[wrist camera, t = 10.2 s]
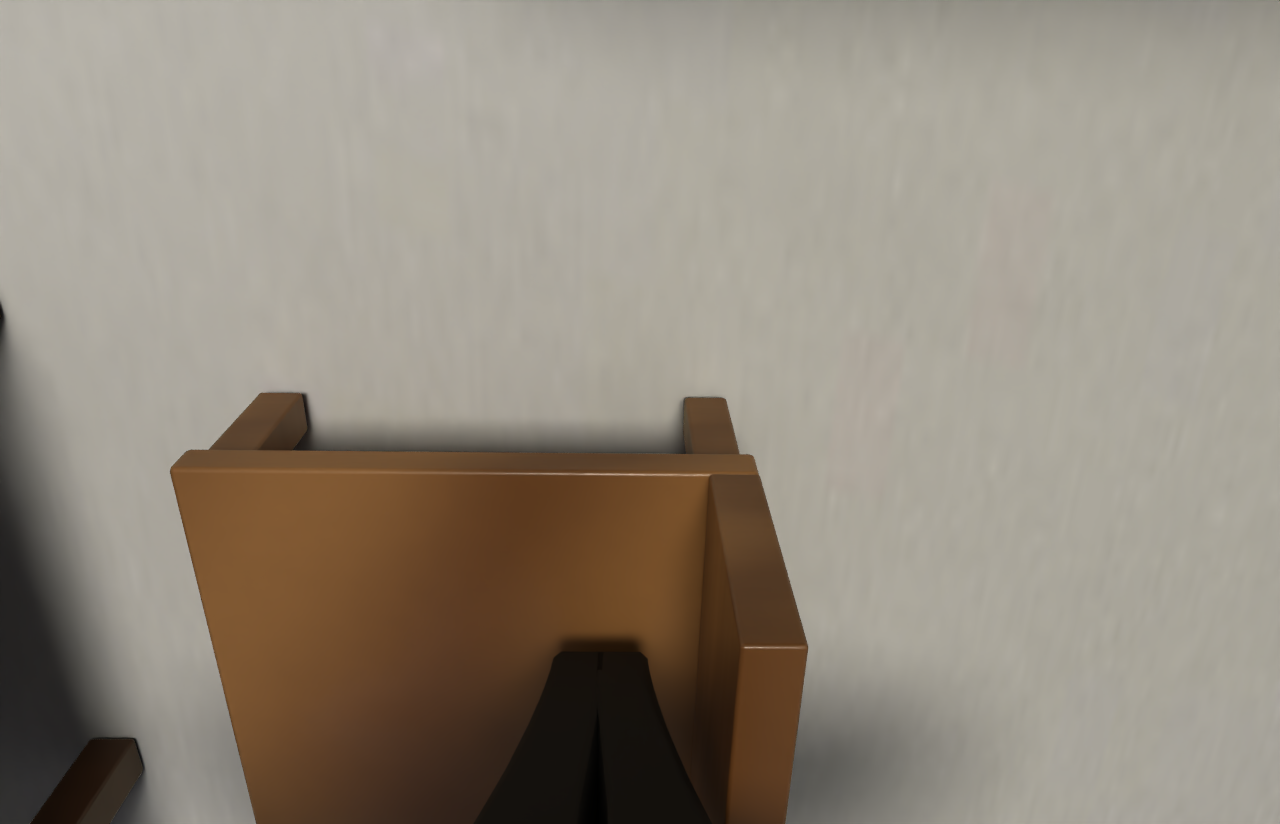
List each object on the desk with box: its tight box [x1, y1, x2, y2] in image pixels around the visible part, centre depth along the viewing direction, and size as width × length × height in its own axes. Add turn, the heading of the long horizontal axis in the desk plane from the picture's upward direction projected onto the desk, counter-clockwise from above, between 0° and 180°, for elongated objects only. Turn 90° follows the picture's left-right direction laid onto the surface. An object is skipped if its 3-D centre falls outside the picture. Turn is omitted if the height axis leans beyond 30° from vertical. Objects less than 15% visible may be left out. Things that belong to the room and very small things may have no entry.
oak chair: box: [170, 393, 808, 824], centre depth 13 cm, size 8×7×6 cm
